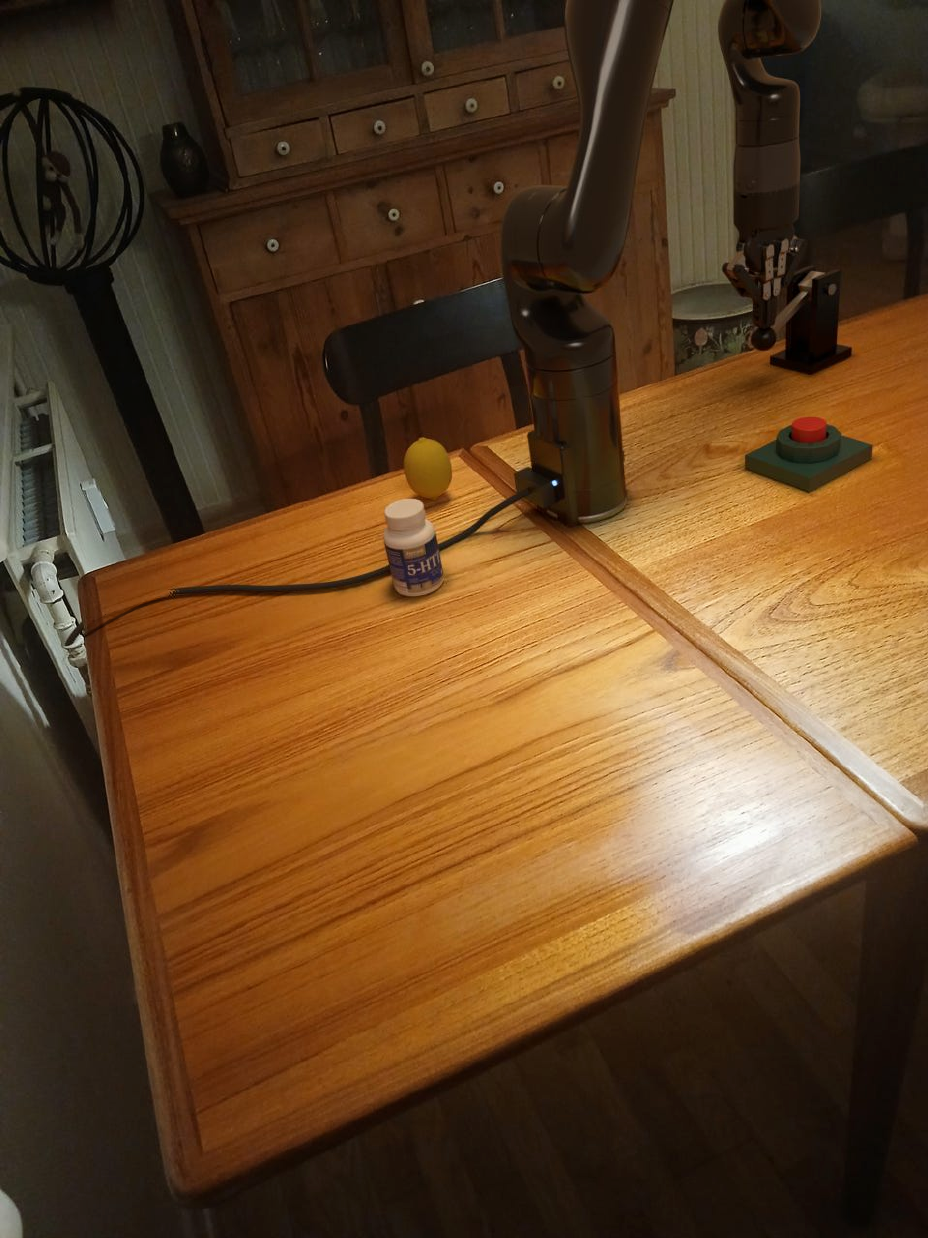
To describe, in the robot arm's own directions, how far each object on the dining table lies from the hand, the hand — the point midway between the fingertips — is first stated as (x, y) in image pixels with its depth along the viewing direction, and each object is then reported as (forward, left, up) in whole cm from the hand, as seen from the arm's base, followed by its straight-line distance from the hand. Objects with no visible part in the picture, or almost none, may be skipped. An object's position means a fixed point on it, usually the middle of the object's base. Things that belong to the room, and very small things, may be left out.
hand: (764, 325), depth 122 cm
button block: (-15, -20, -8) cm, 26 cm away
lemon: (-48, +7, -8) cm, 49 cm away
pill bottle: (-59, -8, -8) cm, 60 cm away
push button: (-15, -20, -4) cm, 25 cm away
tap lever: (+5, 0, -1) cm, 5 cm away
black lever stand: (+9, 0, -8) cm, 12 cm away
